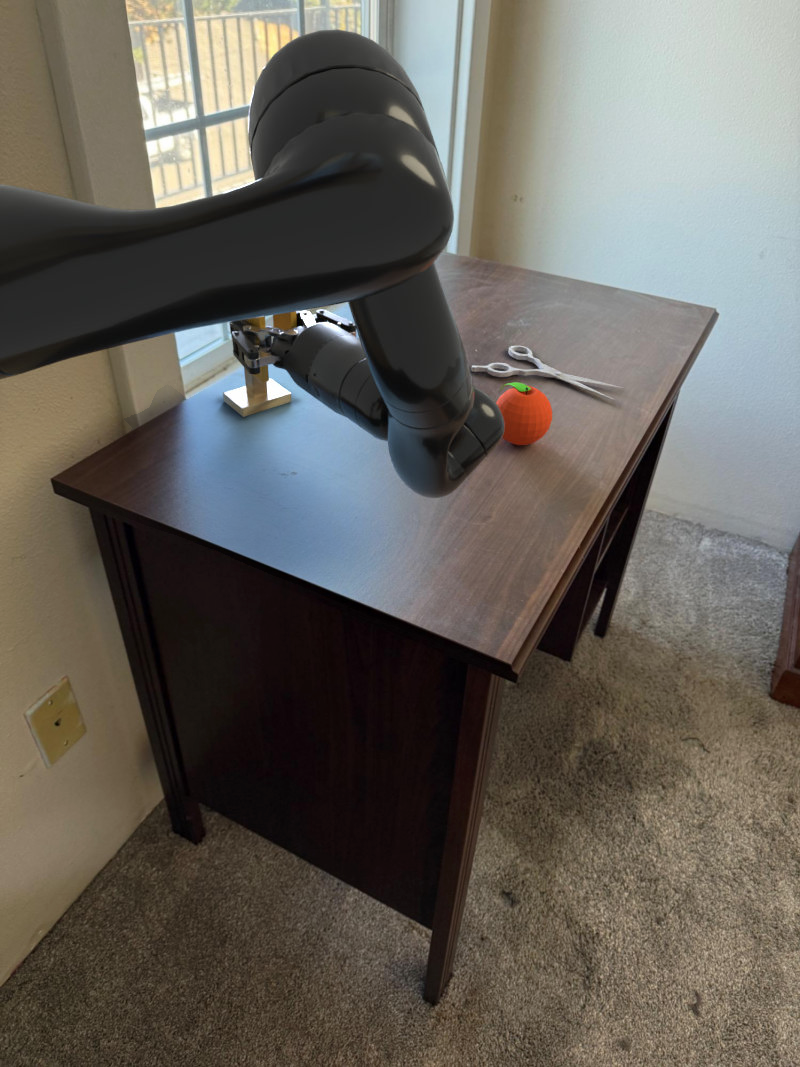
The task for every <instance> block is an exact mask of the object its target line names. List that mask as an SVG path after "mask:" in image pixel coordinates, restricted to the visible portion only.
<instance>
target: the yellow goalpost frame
mask: <svg viewBox="0 0 800 1067" xmlns="http://www.w3.org/2000/svg"><path fill="white" fill-rule="evenodd" d="M246 321H248V322H249V323H251V324H252V326H255V327H259V328H264V327H265V326H267V325H266V316H264V317H258V318H252V319H246ZM272 324H273V326H272V327H276V328H280V329H283V330H287V329H293V328H295V327H297V317H296V311H295V312H289V313H282V314H276V315H272ZM255 338H256V343H258V344H260V339H259V337H257V336H255ZM252 375H253V374H252ZM254 376H255V377H256V378H258V379H259V380H260V381H261V382H263V383H265V382H268V381H269V379H270V375H269V365H264V366H261V367H260V373H259V374H255V375H254Z"/></svg>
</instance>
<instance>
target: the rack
mask: <svg viewBox="0 0 800 1067" xmlns="http://www.w3.org/2000/svg"><path fill="white" fill-rule="evenodd" d="M243 371H244V383H245V385H243V386H240V387H237V388H233V389H231V390H227V391H224V392H222V397H223V402H224V403H226V404H227V405H228V406H229V407H230V408H232V409H233V410H234V411H235V412H237V413H238V414H239V415H240V416H241V417H242V418H245V417H248V416H251V415H255V414H257V413H261V412H263V411H264V412H265V411H266V410H267V411H268V410H269V409H272V408H276V407H279V406H282V405H285V404H289V403H291V402H292V399H293V398H292V392H290V391H289V390H287V389H286V388H285V387H283V386H282V385H280V384H279V383H278V382H277V381H275V380H274V379H273V378H269V381H268V382H265V383H263V382H261V381H260V380H259V379H258V378H256V377H255V376H254V375H252V374H250V373H249V372H248V371H247V370H246V369H245V368H244V367H243Z"/></svg>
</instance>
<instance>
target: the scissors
mask: <svg viewBox="0 0 800 1067" xmlns="http://www.w3.org/2000/svg"><path fill="white" fill-rule="evenodd" d="M520 352H522V353H520ZM508 355H509V356H510V357H512V358H513V359H516V360H520V361H527V362H530V363H533V364H535V366H537V368H534V369H533V368H530V369H523V368H518V367H514V366H511V365H510V364H508V363H505V362H491V363H489V364H487V365H477V364H476V365H475V364H472V365H471V372H474V373H477V372H480V373H482V372H483V373H487V374H489V375H491V376H493V377H497V378H507V377H511V376H515V375H517V376H518V375H519V376H520V375H521V376H525V377H527V376H538V377H539V376H540V377H543V378H554V379H556V380H561V381H563V382H566V383H568V384H570V385H573V386H575V387H578V388H581V389H583V390H585V391H588V392H591V393H594V394H596V395H598V396H602V397H604V398H607V399H610V400H613V401H617V400H616V399H615V398H612V397H611V396H608V395H606V394H604V393H602V392H600V391H598V390H596V389H594V388H592V387H589V386H587V385H585V384H583V383H581V382H585V383H589V384H597V385H602V386H608V387H609V386H610V387H616V388H622V389H623V388H624V387H622V386H619V385H614V384H611V383H607V382H602V381H598V380H595V379H591V378H586V377H582V376H577V375H573V374H570V373H569V374H568V373H564V372H561V371H560V370H558V369H556V368H553V367H552V366H549V365H547V364H545V363H542V361H541V359H540V358H537V357H534V355H533V351H532V350H531V349H530V348H529V347H527V346H523V345H511V346H509V347H508ZM497 369H500V370H497Z"/></svg>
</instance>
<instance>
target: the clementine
mask: <svg viewBox="0 0 800 1067" xmlns="http://www.w3.org/2000/svg"><path fill="white" fill-rule="evenodd" d="M508 385H509V386H511V388H508V389H507V390H506V391H505V392H503V393H502V394H501V395H500V396H499V398H498V399H497V400H496V401H495V403H496V404H497V405H498V407H499V408H500V410H501V413H502V415H503V418H504V423H505V430H504V435H503V437H502V440H505V441H506V442H508V443H510V444H512V445H516V446H527V445H531V444H534V443H536V442H538V441H540V440H541V439H542V438H543V437H544V436H546V434H547V433H548V431H549V430H550V427H551V424H552V421H553V409H552V404H551V402H550V400H549V398H548V397H547V396H546V394H544V393H543V392H542V391H541V390H539V389H538V388H536V387H534V386H530V385H527V384H525V383H522V382H517V381H515V382H508V383H505V384H503V385H502V386H501V387H500V390H499V392H501V391H502V389H504V387H505V386H508Z"/></svg>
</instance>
